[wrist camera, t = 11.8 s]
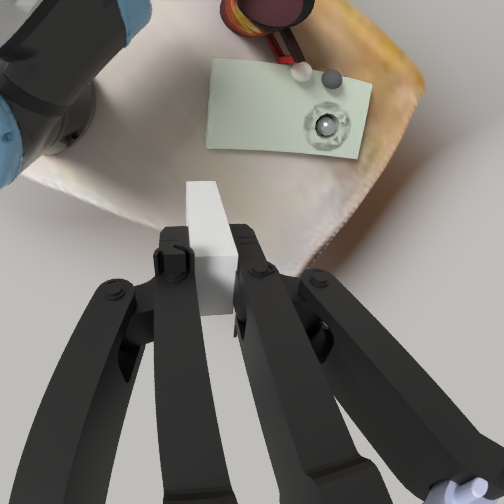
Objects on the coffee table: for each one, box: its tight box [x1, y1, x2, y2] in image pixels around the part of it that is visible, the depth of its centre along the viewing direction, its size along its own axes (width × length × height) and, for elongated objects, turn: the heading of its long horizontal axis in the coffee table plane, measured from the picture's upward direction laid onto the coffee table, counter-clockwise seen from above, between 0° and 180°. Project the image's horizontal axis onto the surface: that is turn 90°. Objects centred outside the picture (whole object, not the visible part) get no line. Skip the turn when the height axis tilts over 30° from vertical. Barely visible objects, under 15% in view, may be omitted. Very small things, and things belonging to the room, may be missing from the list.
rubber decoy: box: [321, 70, 343, 89], centre depth 38 cm, size 3×3×3 cm
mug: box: [220, 0, 315, 64], centre depth 30 cm, size 10×14×12 cm
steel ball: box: [317, 117, 336, 135], centre depth 45 cm, size 3×3×3 cm
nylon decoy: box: [290, 62, 313, 82], centre depth 37 cm, size 3×3×3 cm
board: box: [205, 58, 372, 159], centre depth 43 cm, size 26×14×2 cm, turn 84°
